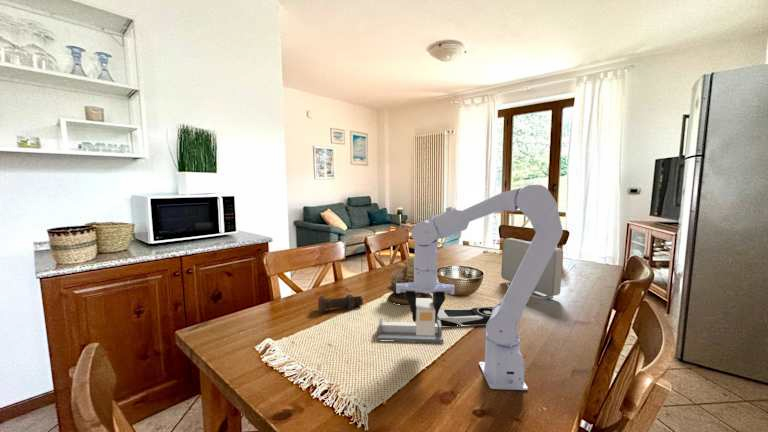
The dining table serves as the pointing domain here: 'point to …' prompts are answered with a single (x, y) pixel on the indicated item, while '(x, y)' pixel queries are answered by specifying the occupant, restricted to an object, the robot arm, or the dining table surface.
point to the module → (425, 317)
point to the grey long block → (407, 332)
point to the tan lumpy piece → (403, 276)
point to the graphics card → (464, 316)
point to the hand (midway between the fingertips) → (424, 320)
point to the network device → (550, 276)
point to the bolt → (339, 302)
